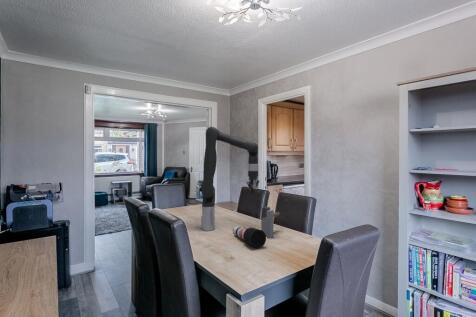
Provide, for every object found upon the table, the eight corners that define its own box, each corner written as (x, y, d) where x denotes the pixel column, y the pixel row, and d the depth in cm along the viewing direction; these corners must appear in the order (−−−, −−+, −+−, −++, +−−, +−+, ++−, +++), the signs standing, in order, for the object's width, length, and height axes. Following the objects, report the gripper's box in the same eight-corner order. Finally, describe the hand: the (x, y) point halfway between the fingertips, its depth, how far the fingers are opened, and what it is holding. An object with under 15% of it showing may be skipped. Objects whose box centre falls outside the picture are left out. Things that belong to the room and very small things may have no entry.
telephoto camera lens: (237, 239, 182) (242, 225, 185) (262, 250, 152) (268, 233, 155) (225, 234, 179) (230, 220, 182) (248, 244, 148) (254, 227, 151)
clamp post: (261, 236, 174) (261, 209, 174) (264, 235, 177) (264, 208, 177) (270, 238, 170) (270, 211, 169) (273, 237, 173) (273, 210, 172)
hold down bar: (261, 218, 174) (261, 207, 174) (275, 214, 187) (275, 203, 187) (266, 219, 172) (266, 208, 172) (279, 214, 185) (279, 204, 185)
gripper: (254, 169, 196) (254, 192, 196) (243, 170, 186) (243, 194, 186) (262, 169, 191) (262, 193, 191) (251, 170, 181) (251, 195, 181)
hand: (252, 193), depth 189 cm, fingers closed
